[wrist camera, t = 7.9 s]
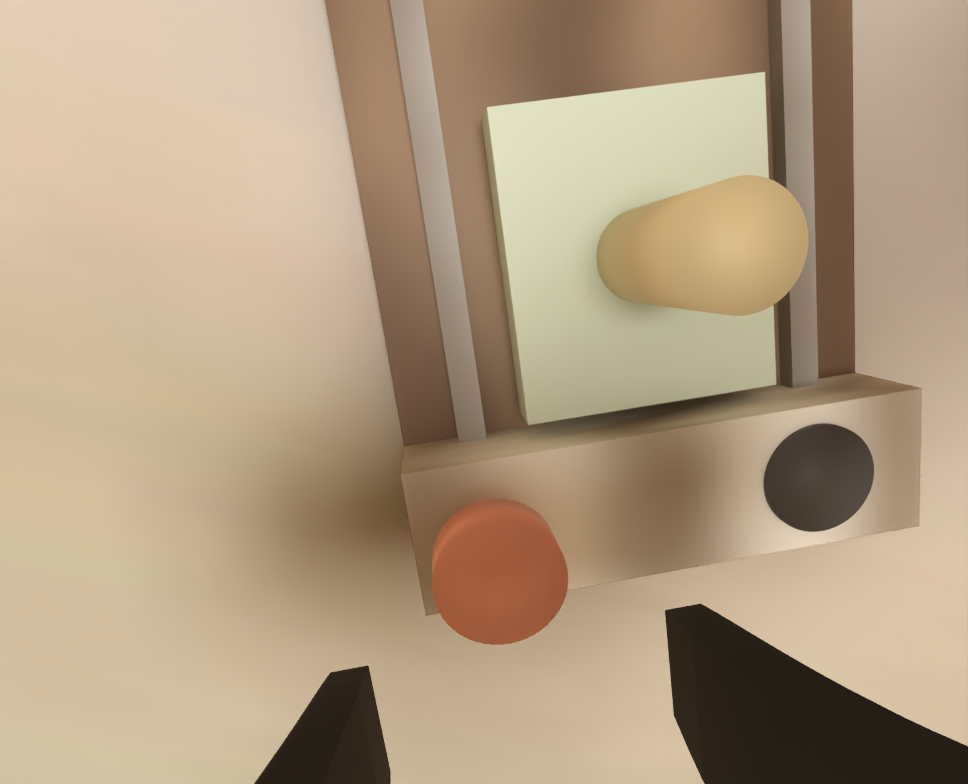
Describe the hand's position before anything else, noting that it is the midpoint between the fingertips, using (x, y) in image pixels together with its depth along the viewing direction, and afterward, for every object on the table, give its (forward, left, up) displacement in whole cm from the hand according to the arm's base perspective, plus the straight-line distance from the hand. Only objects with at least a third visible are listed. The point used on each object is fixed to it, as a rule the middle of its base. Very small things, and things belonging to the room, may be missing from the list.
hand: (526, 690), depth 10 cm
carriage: (-5, -6, -8) cm, 12 cm away
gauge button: (0, 0, -5) cm, 5 cm away
